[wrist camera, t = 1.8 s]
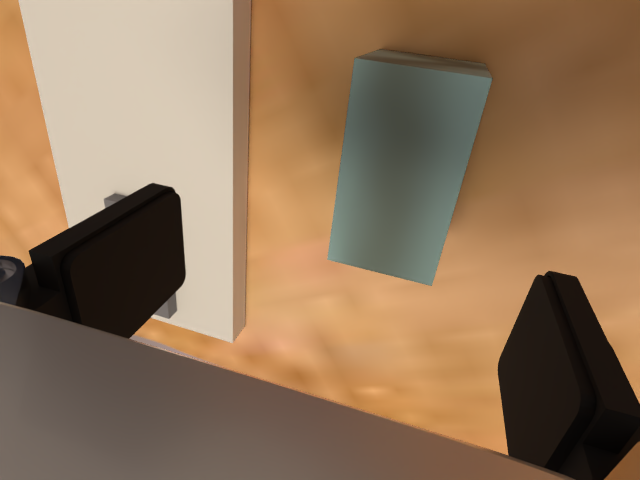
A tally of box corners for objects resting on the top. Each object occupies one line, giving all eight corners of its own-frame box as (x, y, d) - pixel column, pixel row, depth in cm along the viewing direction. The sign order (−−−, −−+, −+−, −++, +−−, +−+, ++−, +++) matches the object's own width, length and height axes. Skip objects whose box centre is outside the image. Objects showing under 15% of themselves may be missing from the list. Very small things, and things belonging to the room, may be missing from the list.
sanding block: (484, 63, 20) (492, 78, 15) (438, 229, 24) (431, 286, 19) (381, 48, 21) (354, 58, 16) (354, 211, 25) (327, 259, 20)
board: (252, -49, 20) (232, -56, 19) (244, 325, 32) (232, 343, 30) (35, -71, 23) (1, -78, 21) (102, 283, 35) (84, 297, 33)
